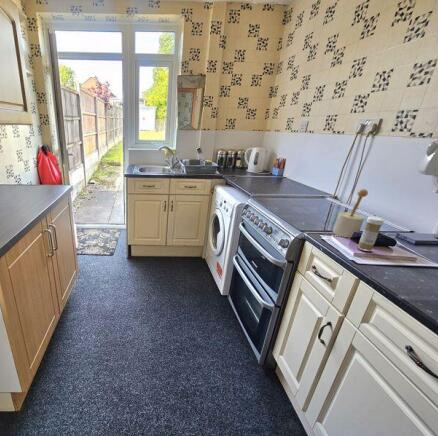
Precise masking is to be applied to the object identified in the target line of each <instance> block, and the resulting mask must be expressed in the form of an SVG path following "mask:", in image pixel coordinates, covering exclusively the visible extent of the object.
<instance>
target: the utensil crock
mask: <svg viewBox="0 0 438 436" xmlns="http://www.w3.org/2000/svg"><path fill="white" fill-rule="evenodd" d="M368 191H369V190H367V189H365V188H361V189H359V190H357V196H358V197H357V199H356V201H355V204H354V205H353V208H352V210H351V212H349V211H347V212H346V211H339V212H338V214H337V216H336V219H335V223H334V226H333V230H332V233H333V234H334V235H335V236H337V237H338V236H339V237H341V236H342V237H341V238H345V237H348V238H347V239H351V238H350V237H351V236H352V234H353V233H354V232H359V233H360V232H361V229H362V226H363V224H364V221H365V217H364V216H362V215H360V214H357V213H356V211H357V209H358V207H359V205H360V203H361V201H362V200H363V198H365V197H367V196H368V195H369V192H368Z"/></svg>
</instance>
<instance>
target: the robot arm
mask: <svg viewBox="0 0 438 436" xmlns="http://www.w3.org/2000/svg"><path fill="white" fill-rule="evenodd" d="M417 171H418V173H419V174H422V175H425V176H432V177H431V181H432V184H433V187H432V190H431V192H432V193H435V194H438V139H436V140H434V141H432V142H430V144H429V145H428V146H427V148H426V153H425V154H424V156H423V158H422V159H421V161H420V163H419V164H418V166H417Z"/></svg>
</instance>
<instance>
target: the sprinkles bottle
mask: <svg viewBox="0 0 438 436" xmlns="http://www.w3.org/2000/svg"><path fill="white" fill-rule="evenodd" d="M384 222H385V221H384V219H383V218H381V217H377V216H368V217H367V219H366V223H365V226H364V228H363V231H362V233H361V236H360V239H359V242H358V245H357V246H358V247H360V248H362V249H367V250H371V249H372V250H373V248H374V246H375V243H376V241H377V238H378V235H379V233H380V230H381V227H382V226H383V224H384Z"/></svg>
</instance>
